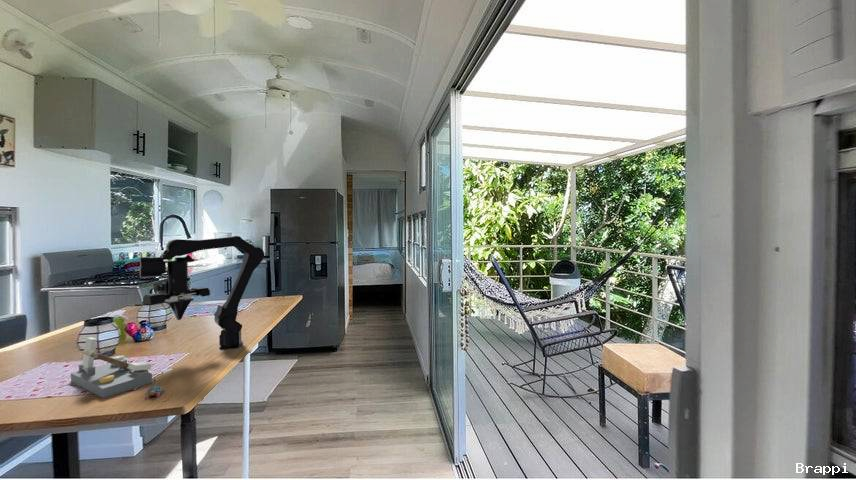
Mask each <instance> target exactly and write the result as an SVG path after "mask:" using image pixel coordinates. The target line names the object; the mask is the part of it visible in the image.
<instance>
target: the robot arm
mask: <svg viewBox="0 0 856 480" xmlns="http://www.w3.org/2000/svg"><path fill="white" fill-rule="evenodd" d="M229 247H234V248H235V249H236V250H237V251H239V253H242V255H243V257H242V259H241V261H242V263H241V269H240V270H239V272H238V275H237V277H236V279H235V281H234V284H233V286H232V287H231V290H230V292H229V295H228V297H227V299H226V301H225V302H224V303H223V304H222V305H220V304H218V305H217V308H216V311H215V312H214V313H213V316H214V318H213V319H214V322H215V324H216V325H217V326H219V328H220V329H221V331H220V334H219V335H218V338H219V343H218V344H219V348H218V349H219V350H222V349H223V350H224V349H236V348H239V347H240V346H242V344H243V342H244V341H243V340H242V329H243V324H241V323H240V322H238V321H237V316H238V310H239V304H240V302H241V300H242V298H243V295H244V293H245V290H246V289H247V286H248V284H249V282H250V279H251V277H252V275H253V273H254V272H255V270H256V268H258V267H259V265H260V264H261V263H262V262H263V259H264V258H265V254H266V253H265V252H264V250H263V249H262V248H261V247H257V246H254V245H253V244H251V243H249V242H248V241H246V240H244V239H243V238H242V237H241V236H239V235H233V236H226V237H219V238H218V237H216V238H215V237H214V238H207V239H181V238H180V239H179V238H178V239H170V240H169V241H168V242H167V244H166V246H165V250H164V252H162V254H160V256H155V257H154V256H153V257H146V256H141V257H139V261H140V262H139V263H140V264H139V279H144V278H146V279H147V278H158V277H162V275H164V274H167V278H165V282H164V283H162V282H161V281H160V282H155V283H153V293H146V294H145V295H143V297H142V303H143V304H146V305H157V304H158V305H159V304H162V303H164V304H167V305H168V306H169V307H170V308H171V310H172V312H173V314H174V316H175V318H176V320H177V321H181V320H182V319H183V316H184V314H185V312H186V310H187V308H188V307H189V305H190V304H191V302H192V301H194V298H192V297H193V296H200V297H207V296H211V290H210V288H208V287H203V286H200V287H193V288H191V289H190V288H189V282H190V281H191V278H190V277H189V267H188V266H189V265H188V263H190V262H195V259H194V258H193V257H191V256H190V254H193V253H195V252H200V251H205V250H206V251H207V250H212V249H213V250H215V249H222V248H229ZM185 255H186V256H185ZM173 258H174V259H173ZM171 259H173V260H171ZM166 264H167V265H166ZM166 267H167V269H166ZM166 272H167V273H166Z"/></svg>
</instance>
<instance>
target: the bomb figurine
mask: <svg viewBox="0 0 856 480" xmlns="http://www.w3.org/2000/svg"><path fill="white" fill-rule="evenodd" d="M156 382H157V380H156V378H155V376H152V383H153V386H151V387H150V388H149V389H148V390H147V392H146V396H145V397H144V400H150V399H151V398H152V397H155V398H156V399H159V398H161V394H162V392H164V389H163V388H162V387H160V386H159V385H157V384H156Z"/></svg>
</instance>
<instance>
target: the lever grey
mask: <svg viewBox="0 0 856 480" xmlns="http://www.w3.org/2000/svg"><path fill="white" fill-rule="evenodd" d="M97 341H98V339H97V338H95V337H92V336H90V337H86V338H85V343H84V345H85V346H84V350H83V358H82V363H81V364H82V366H84V368H86V369H87V368H89V367H93V366H94V362H95V358H93V357H90V356H87V355H85V354H84V352H85V351H86V350H90V351H93V352H96V350H97V349H96V348H97Z"/></svg>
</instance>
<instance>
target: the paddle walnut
mask: <svg viewBox="0 0 856 480" xmlns="http://www.w3.org/2000/svg"><path fill="white" fill-rule="evenodd" d="M84 354H85V355H87V356H90V357H93V358H94V359H97V360H100V361H104V362H106V363H112V364H115V365H118V366H121V367H124V368H127V367H128V366H129V364H128V363H125V362H122V361H119V360H116V359H113V358H112V357H110V356H107V355H104V354H101V353H98V352H96V351H95V352H93V351H90V350H86V351H85V352H84V351H83V355H84Z"/></svg>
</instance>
